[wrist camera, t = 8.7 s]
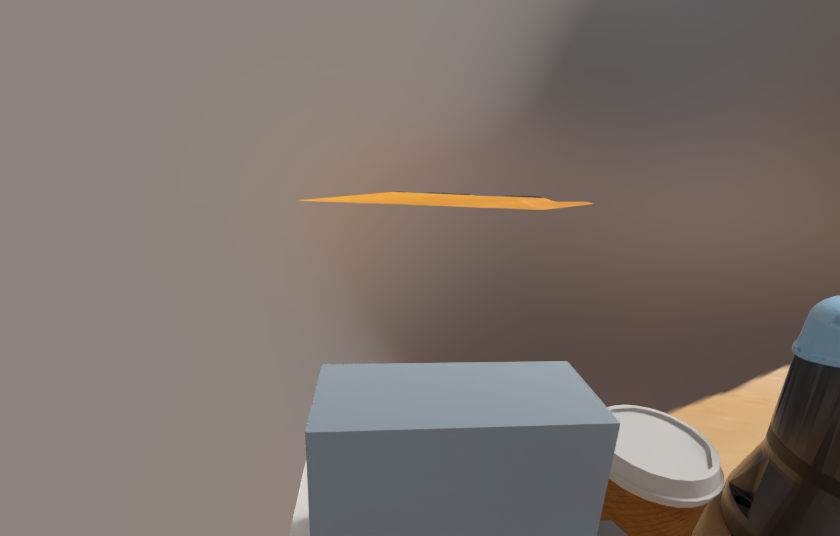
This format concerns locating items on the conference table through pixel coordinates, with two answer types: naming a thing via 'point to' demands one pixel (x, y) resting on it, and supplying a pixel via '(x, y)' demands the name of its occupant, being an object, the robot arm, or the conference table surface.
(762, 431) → the conference table surface
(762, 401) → the conference table surface
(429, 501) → the slate domino
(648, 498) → the disposable coffee cup
